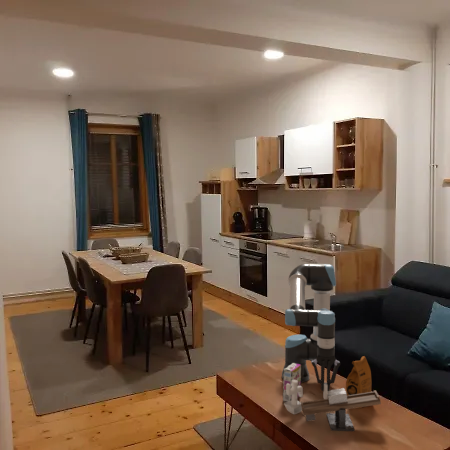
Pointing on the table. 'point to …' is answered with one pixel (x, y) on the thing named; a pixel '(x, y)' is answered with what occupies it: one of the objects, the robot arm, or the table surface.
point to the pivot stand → (340, 421)
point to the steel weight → (337, 396)
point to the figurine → (294, 397)
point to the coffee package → (359, 378)
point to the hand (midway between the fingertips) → (325, 397)
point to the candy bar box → (291, 374)
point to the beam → (353, 402)
